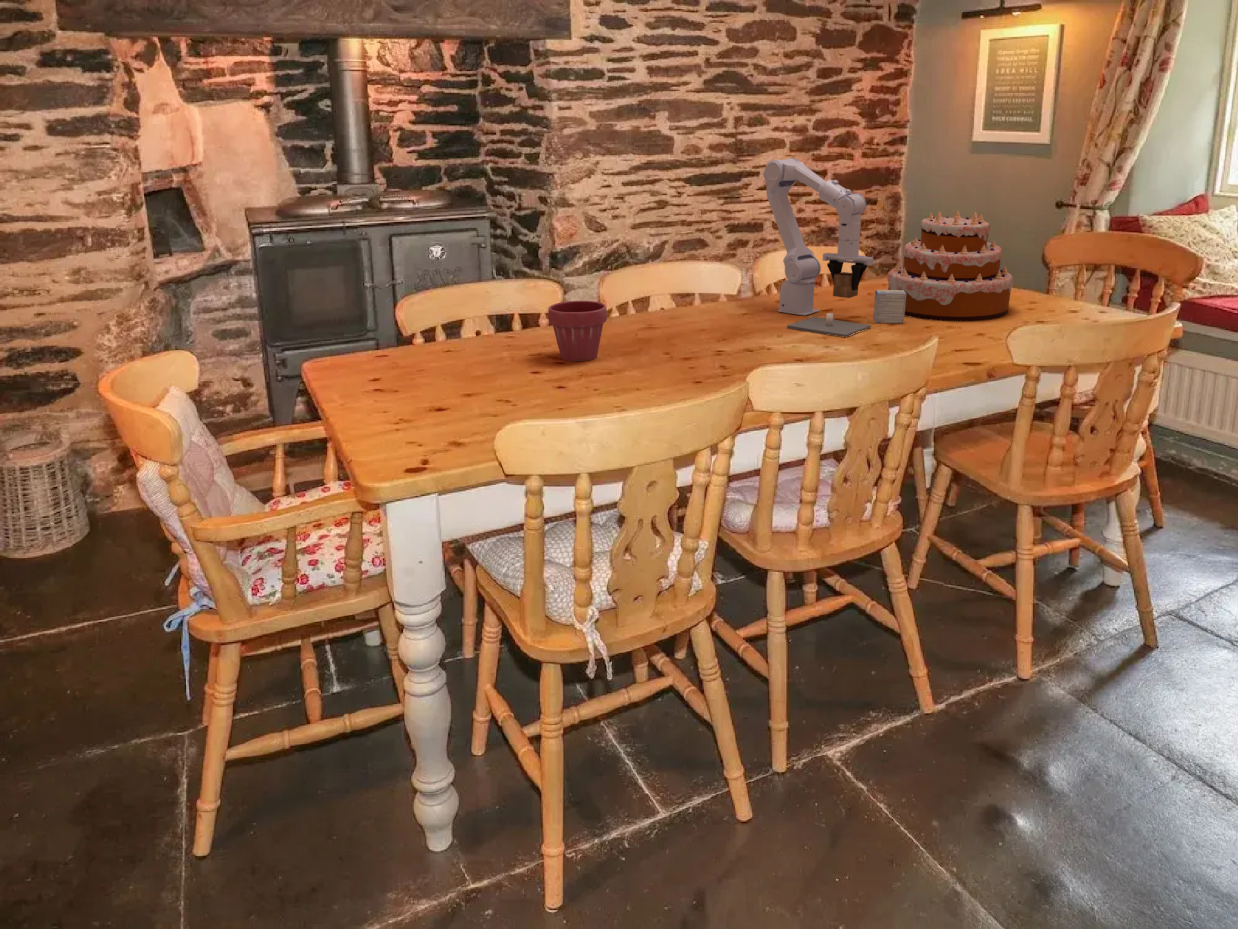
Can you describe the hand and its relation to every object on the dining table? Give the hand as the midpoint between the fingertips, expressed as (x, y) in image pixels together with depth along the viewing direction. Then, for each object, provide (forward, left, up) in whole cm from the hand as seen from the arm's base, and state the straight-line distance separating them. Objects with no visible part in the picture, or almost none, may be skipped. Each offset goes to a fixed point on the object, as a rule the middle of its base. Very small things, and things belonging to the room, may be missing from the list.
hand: (845, 288), depth 281 cm
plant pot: (-31, -76, -9) cm, 83 cm away
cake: (+16, +32, -9) cm, 37 cm away
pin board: (+2, -11, -9) cm, 14 cm away
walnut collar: (0, 0, -2) cm, 2 cm away
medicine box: (+11, +6, -9) cm, 15 cm away
